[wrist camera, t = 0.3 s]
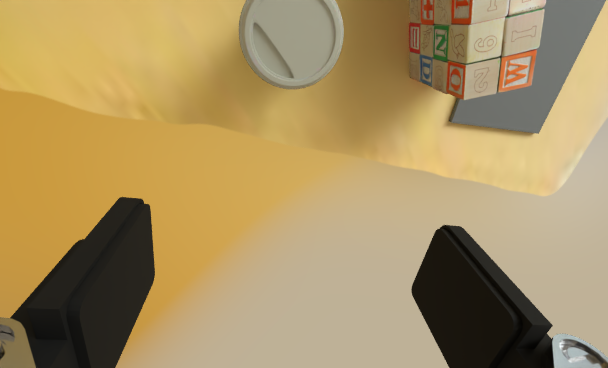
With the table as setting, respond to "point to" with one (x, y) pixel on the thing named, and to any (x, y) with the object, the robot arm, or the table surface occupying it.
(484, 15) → the stack of blocks
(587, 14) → the charcoal mat
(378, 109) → the table surface
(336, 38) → the coffee cup
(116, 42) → the table surface
